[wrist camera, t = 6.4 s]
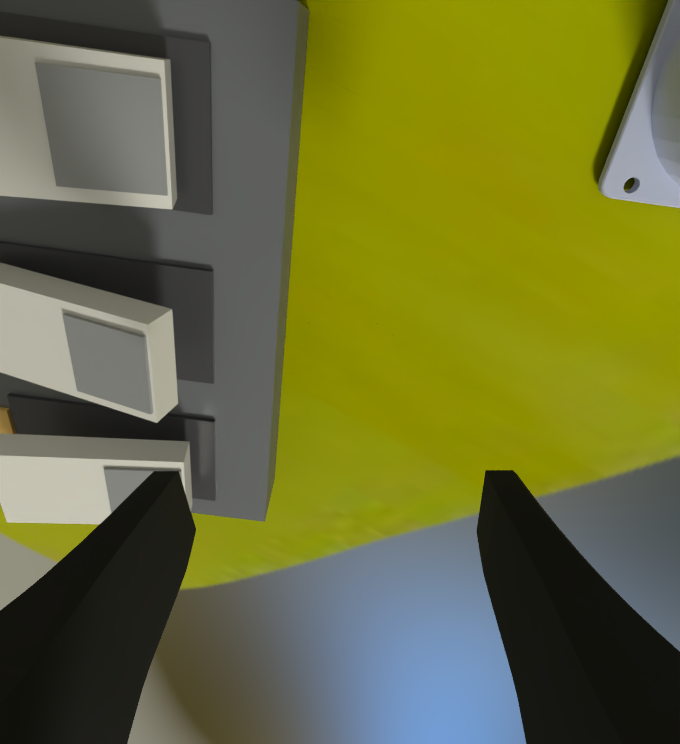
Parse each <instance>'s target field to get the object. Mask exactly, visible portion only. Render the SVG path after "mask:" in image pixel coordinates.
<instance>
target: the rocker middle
mask: <svg viewBox="0 0 680 744" xmlns="http://www.w3.org/2000/svg"><path fill="white" fill-rule="evenodd" d="M0 372H1V373H4V374H7V375H10V376H13V377H16V378H20V379H23V380H26V381H29V382H32V383H35V384H38V385H41V386H44V387H47V388H50V389H54V390H57V391H60V392H63V393H66V394H69V395H72V396H75V397H78V398H81V399H84V400H88V401H91V402H94V403H97V404H100V405H103V406H106V407H109V408H112V409H115V410H118V411H121V412H125V413H128V414H131V415H134V416H137V417H140V418H143V419H146V420H149V421H152V422H155V423H158V422H159V421H160V420H161V419H162V418H163V417H164V416H165V415H166V414H167V413H168V412H169V411H171V410H172V409H173V408H174V407H175V406H176V405H177V404H178V393H177V377H176V361H175V345H174V329H173V313H172V309H170V308H166V307H163V306H159V305H155V304H152V303H148V302H144V301H141V300H137V299H133V298H130V297H126V296H122V295H118V294H115V293H111V292H107V291H104V290H100V289H96V288H93V287H89V286H85V285H82V284H78V283H74V282H70V281H67V280H63V279H59V278H56V277H52V276H48V275H45V274H41V273H37V272H33V271H30V270H26V269H22V268H19V267H15V266H11V265H8V264H4V263H0Z"/></svg>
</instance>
